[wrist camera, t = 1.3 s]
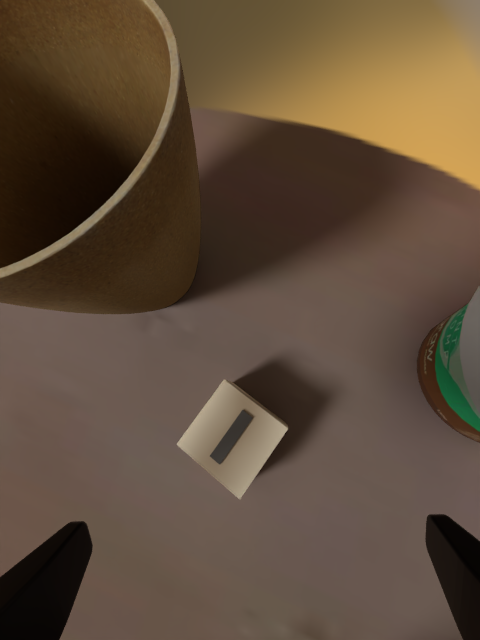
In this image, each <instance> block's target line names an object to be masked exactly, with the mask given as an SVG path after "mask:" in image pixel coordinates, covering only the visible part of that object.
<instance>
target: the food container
mask: <svg viewBox="0 0 480 640" xmlns="http://www.w3.org/2000/svg"><path fill="white" fill-rule="evenodd" d="M417 373H418V379H419V383H420V386H421V389H422V392H423V394H424V396H425V398H426V400H427V402H428V403H429V405H430V406H431V407H432V409H433V410H434V412H435V413H436V414H437V415H438V416H439V417H440V418H441V419H442V420H443V421H444V422H445V423H446V424H448V425H449V426H450V427H451V428H452V429H454V430H456V431H457V432H459V433H460V434H462V435H464V436H466V437H468V438H470V439H472V440H475V441H477V442H479V443H480V286H479V287H478V288H477V290H476V292H475V294H474V295H473V297H472V299H471V300H470V302H469V303H468V304H467V305H465V306H464V307H462V308H461V309H459V310H458V311H457V312H455V313H454V314H452V315H451V316H449V317H448V318H446V319H445V320H444V321H442V322H441V323H440V324H438V325H437V326H436V327H434V328H433V329H431V330H430V332H429V333H428V335H427V336H426V338H425V339H424V341H423V342H422V345H421V347H420V350H419V354H418V359H417Z"/></svg>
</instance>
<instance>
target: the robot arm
mask: <svg viewBox="0 0 480 640" xmlns="http://www.w3.org/2000/svg"><path fill="white" fill-rule="evenodd" d="M426 547H427V550H428V553H429V556H430V558H431V561H432V563H433V566H434V568H435V571H436V574H437V576H438V579H439V581H440V584H441V586H442V589H443V591H444V594H445V597H446V599H447V602H448V604H449V607H450V609H451V612H452V615H453V617H454V619H455V622H456V624H457V627H458V629H459V631H460V633H461V636H462V638H463V640H480V541H479V540H478V539H476V538H475V537H474V536H473V535H471V534H470V533H469V532H467V531H466V530H465V529H464V528H462V527H461V526H460V525H459V524H457V523H456V522H455V521H453V520H452V519H451V518H450V517H448V516H446V515H444V514H433V515H428V517H427V521H426ZM91 553H92V541H91V537H90V534H89V530H88V526H87V524H86V523H85V522H83V521H77V522H70V523H68V524H67V525H65V526H64V527H63V528H62V529H60V530H59V531H58V532H56V533H55V534H54V535H53V536H51V537H50V538H49V539H48V540H46V541H45V542H44V543H43V544H41V545H40V546H39V547H38V548H36V549H35V550H34V551H33V552H31V553H30V554H29V555H28V556H26V557H25V558H24V559H22V560H21V561H20V562H19V563H17V564H16V565H15V566H14V567H12V568H11V569H10V570H9V571H7V572H6V573H5V574H4V575H2V576H1V577H0V640H59V639H60V637H61V634H62V632H63V630H64V627H65V625H66V623H67V620H68V618H69V615H70V612H71V610H72V607H73V604H74V601H75V598H76V596H77V593H78V590H79V587H80V585H81V582H82V579H83V576H84V573H85V571H86V568H87V565H88V562H89V559H90V557H91Z"/></svg>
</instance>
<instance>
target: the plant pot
mask: <svg viewBox="0 0 480 640" xmlns="http://www.w3.org/2000/svg"><path fill="white" fill-rule="evenodd" d="M200 238H201V202H200V186H199V174H198V165H197V156H196V147H195V140H194V134H193V127H192V121H191V114H190V108H189V103H188V97H187V92H186V87H185V81H184V75H183V70H182V65H181V59H180V54H179V49H178V45H177V41H176V37H175V34H174V32H173V29H172V27H171V24H170V23H169V21H168V19H167V17H166V15H165V14H164V12H163V11H162V9H161V8H160V6H159V5H158V4H157V3H156V2H155V1H154V0H0V302H1V303H7V304H13V305H19V306H26V307H33V308H40V309H48V310H56V311H65V312H75V313H92V314H131V313H141V312H148V311H154V310H159V309H162V308H165V307H168V306H170V305H172V304H173V303H175V302H177V301H178V300H179V299H180V298H182V297H183V296H184V294H185V293H186V292H187V291H188V289H189V288H190V286H191V284H192V282H193V280H194V277H195V273H196V269H197V264H198V258H199V251H200Z"/></svg>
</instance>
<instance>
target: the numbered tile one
mask: <svg viewBox="0 0 480 640" xmlns="http://www.w3.org/2000/svg"><path fill="white" fill-rule="evenodd" d="M287 430H288V426H287V423H285V422H284V421H283V420H281V419H280V418H279V417H277V416H276V415H275V414H274V413H272V412H271V411H270V410H268V409H267V408H266V407H264V406H263V405H262V404H260V403H259V402H258V401H257V400H255V399H254V398H253V397H251V396H250V395H249V394H247V393H246V392H245V391H243V390H242V389H241V388H240V387H238V386H237V385H236V384H234V383H233V382H230V381H227V380H225V379H224V380H223V382H222V383H221V384H220V386H219V387H218V388H217V390H216V391H215V393H214V394H213V395H212V397H211V398H210V399H209V401H208V402H207V403H206V405H205V406H204V408H203V409H202V410H201V412H200V413H199V414H198V416H197V417H196V419H195V420H194V421H193V423H192V424H191V425H190V427H189V428H188V429H187V431H186V432H185V434H184V435H183V436H182V438H181V439H180V440H179V442H178V443H177V445H178V446H179V447H180V448H181V449H182V450H183V451H185V452H186V453H187V454H188V455H189V456H190V457H191V458H193V459H194V460H195V461H196V462H197V463H198V464H199V465H201V466H202V467H203V468H204V469H205V470H206V471H208V472H209V473H210V474H211V475H212V476H213V477H214V478H216V479H217V480H218V481H219V482H220V483H221V484H222V485H224V486H225V487H226V488H227V489H228V490H229V491H231V492H232V493H233V494H234V495H235V496H236V497H237V498H239V499H240V498H241V497H242V496H243V494H244V493H245V491H246V490H247V488H248V487H249V485H250V484H251V482H252V481H253V480H254V478H255V477H256V475H257V474H258V472H259V471H260V469H261V468H262V466H263V465H264V463H265V462H266V461H267V459H268V458H269V456H270V455H271V453H272V452H273V450H274V449H275V447H276V446H277V444H278V443H279V442H280V440H281V439H282V437H283V436H284V434H285V433H286V431H287Z"/></svg>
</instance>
